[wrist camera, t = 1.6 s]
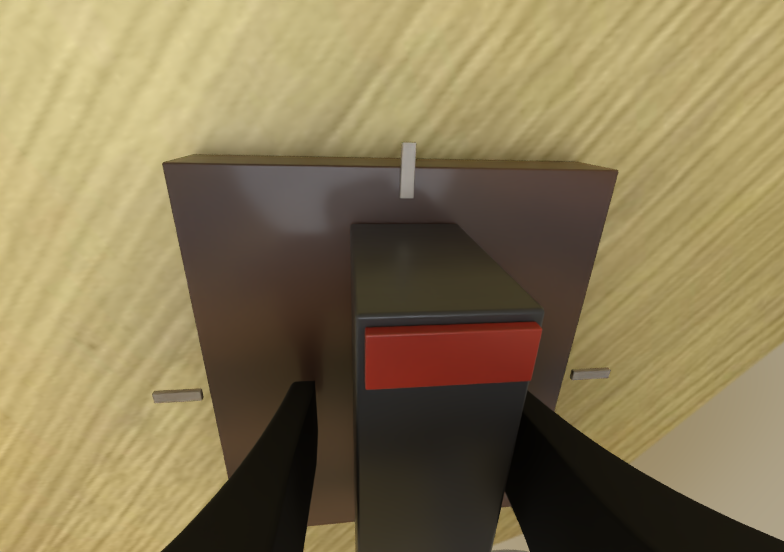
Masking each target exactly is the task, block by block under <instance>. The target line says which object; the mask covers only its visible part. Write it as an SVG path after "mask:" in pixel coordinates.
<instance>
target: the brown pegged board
mask: <svg viewBox="0 0 784 552" xmlns="http://www.w3.org/2000/svg"><path fill="white" fill-rule="evenodd" d="M162 165H163V170H164V175H165V179H166V184H167V189H168V194H169V198H170V203H171V208H172V213H173V217H174V222H175V227H176V232H177V236H178V241H179V246H180V251H181V255H182V260H183V265H184V270H185V274H186V279H187V284H188V289H189V293H190V298H191V303H192V308H193V312H194V317H195V322H196V327H197V331H198V336H199V341H200V346H201V350H202V355H203V360H204V365H205V369H206V374H207V379H208V384H209V388H210V393H211V398H212V403H213V408H214V412H215V417H216V422H217V427H218V431H219V436H220V441H221V446H222V450H223V455H224V460H225V465H226V469H227V474H228V479H229V478H230V477H231V476H232V474H233V473H234V472H235V471H236V469H237V468H238V467H239V466H240V464H241V463H242V462H243V460H244V459H245V457H246V456H247V455H248V453H249V452H250V451H251V449H252V448H253V446H254V445H255V444H256V442H257V441H258V439H259V438H260V437H261V435H262V433H263V432H264V430H265V429H266V427H267V426H268V424H269V423H270V421H271V420H272V418H273V416H274V415H275V413H276V411H277V410H278V408H279V406H280V405H281V403H282V401H283V399H284V397H285V396H286V394H287V392H288V390H289V388H290V386H291V384H292V383H293V382H297V381H315V389H316V404H317V419H318V447H317V465H316V472H315V478H314V485H313V491H312V498H311V504H310V510H309V517H308V523H307V526H315V525H325V524H336V523H346V522H355V505H354V442H353V376H352V310H351V244H350V226H351V225H352V224H458V225H459V226H460V227H461V228H462V229H463V230H464V231H465V232H466V233H467V234H468V235H469V236H470V237H471V238H472V239H473V240H474V241H475V242H476V243H477V244H478V245H479V246H480V247H481V248H482V249H483V250H484V251H485V252H486V253H488V254H489V255H490V256H491V257H492V258H493V259H494V260H495V261H496V262H497V263H498V264H499V265H500V266H501V267H502V268H503V269H504V270H505V271H506V272H507V273H508V274H509V275H510V276H511V277H512V278H513V279H514V280H515V281H516V282H517V283H518V284H519V285H520V286H521V287H522V288H523V289H524V290H525V291H526V292H527V293H528V294H529V295H530V296H532V297H533V298H534V299H535V300H536V301H537V302H538V303H539V304H540V305H541V306H542V307H543V308H544V318H543V322H542V327H541V328H542V334H541V339H540V343H539V348H538V352H537V357H536V361H535V365H534V370H533V374H532V379H531V381H529V385H528V389H527V390H528V391H529V392H530V393H532V394H533V395H534V396H535V397H536V398H538V399H539V400H540V401H541V402H543V403H544V404H545V405H546V406H547V407H549V408H550V409H551V410H552V411H554V410H555V407H556V403H557V399H558V395H559V392H560V388H561V384H562V381H563V377H564V373H565V369H566V366H567V362H568V358H569V354H570V351H571V347H572V343H573V339H574V336H575V332H576V328H577V325H578V321H579V317H580V313H581V310H582V306H583V302H584V298H585V295H586V291H587V287H588V284H589V280H590V276H591V272H592V269H593V265H594V261H595V257H596V254H597V250H598V246H599V242H600V239H601V235H602V231H603V228H604V224H605V220H606V216H607V213H608V209H609V205H610V201H611V198H612V194H613V190H614V187H615V183H616V179H617V175H618V170H615V169H611V168H606V167H601V166H596V165H591V164H586V163H581V162H560V161H509V160H458V159H416V142H402V144H401V158H357V157H306V156H255V155H204V154H193V155H189V156H185V157H181V158H178V159H174V160H170V161H166V162H163V164H162ZM610 371H611V370H610V369H609V368H588V369H572V370H571V374H570V378H571V380H581V379H599V378H608V377H609V374H610ZM152 396H153V399H154V403H166V402H184V401H202V399H203V392H202V389H182V390H163V391H154V392H153V394H152ZM501 507H511V504H510V502H509V500H508V498H507V495H506V493H505V492H504V497H503V501H502V506H501Z"/></svg>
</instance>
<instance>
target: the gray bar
mask: <svg viewBox="0 0 784 552" xmlns="http://www.w3.org/2000/svg"><path fill="white" fill-rule="evenodd" d="M350 244H351V310H352V376H353V442H354V505H355V547H356V552H491V550H492V546H493V541H494V537H495V533H496V528H497V524H498V519H499V515H500V510H501V506H502V501H503V497H504V492H505V488H506V483H507V479H508V474H509V470H510V465H511V461H512V456H513V452H514V448H515V443H516V439H517V434H518V430H519V425H520V421H521V416H522V412H523V407H524V403H525V398H526V394H527V389H528V385H529V381H531V379H532V374H533V370H534V365H535V361H536V357H537V352H538V348H539V343H540V339H541V334H542V328H541V327H542V322H543V318H544V308H543V307H542V306H541V305H540V304H539V303H538V302H537V301H536V300H535V299H534V298H533V297H532V296H530V295H529V294H528V293H527V292H526V291H525V290H524V289H523V288H522V287H521V286H520V285H519V284H518V283H517V282H516V281H515V280H514V279H513V278H512V277H511V276H510V275H509V274H508V273H507V272H506V271H505V270H504V269H503V268H502V267H501V266H500V265H499V264H498V263H497V262H496V261H495V260H494V259H493V258H492V257H491V256H490V255H489V254H488V253H486V252H485V251H484V250H483V249H482V248H481V247H480V246H479V245H478V244H477V243H476V242H475V241H474V240H473V239H472V238H471V237H470V236H469V235H468V234H467V233H466V232H465V231H464V230H463V229H462V228H461V227H460V226H459V225H458V224H352V225H351V226H350Z"/></svg>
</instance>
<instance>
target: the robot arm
mask: <svg viewBox="0 0 784 552" xmlns="http://www.w3.org/2000/svg"><path fill="white" fill-rule="evenodd" d="M317 447H318V419H317V404H316V389H315V381H297V382H293V383H292V384H291V386H290V388H289V390H288V392H287V394H286V396H285V397H284V399H283V401H282V403H281V405H280V406H279V408H278V410H277V411H276V413H275V415H274V416H273V418H272V420H271V421H270V423H269V424H268V426H267V427H266V429H265V430H264V432H263V433H262V435H261V437H260V438H259V439H258V441H257V442H256V444H255V445H254V446H253V448H252V449H251V451H250V452H249V453H248V455H247V456H246V457H245V459H244V460H243V462H242V463H241V464H240V466H239V467H238V468H237V469H236V471H235V472H234V473H233V474H232V476H231V477H230V478H229V479H228V481H227V482H226V483H225V484H224V485H223V487H222V488H221V489H220V490H219V491H218V493H217V494H216V495H215V496H214V497H213V498H212V499H211V501H210V502H209V503H208V504H207V505H206V506H205V507H204V508H203V509H202V510H201V511H200V513H199V514H198V515H197V516H196V517H195V518H194V519H193V520H192V521H191V522H190V523H189V524H188V525H187V527H186V528H185V529H184V530H183V531H182V532H181V533H180V534H179V535H178V536H177V537H176V538H175V539H174V540H173V541H172V542H171V543H170V544H169V545H167V546H166V547H165V548H164V549H163V550H162V551H161V552H303V549H304V542H305V536H306V529H307V523H308V517H309V510H310V504H311V498H312V491H313V485H314V478H315V472H316V465H317ZM505 493H506V495H507V498H508V500H509V502H510V504H511V507H512V509H513V511H514V513H515V516H516V518H517V520H518V522H519V525H520V527H521V529H522V532H523V534H524V537H525V539H526V542H527V545H528V548H529V551H530V552H784V541H782V540H780V539H777V538H775V537H773V536H770V535H768V534H766V533H763V532H761V531H759V530H756V529H754V528H752V527H749V526H747V525H745V524H742V523H740V522H738V521H736V520H734V519H731V518H729V517H727V516H725V515H723V514H721V513H719V512H717V511H715V510H712V509H710V508H708V507H706V506H704V505H702V504H700V503H698V502H696V501H694V500H692V499H690V498H688V497H686V496H685V495H683V494H681V493H678V492H676V491H675V490H673V489H671V488H669V487H668V486H666V485H664V484H662V483H660V482H659V481H657V480H655V479H653V478H652V477H650V476H648V475H646V474H644V473H643V472H641V471H639V470H638V469H636V468H634V467H633V466H631V465H629V464H628V463H626V462H625V461H623V460H621V459H620V458H618V457H617V456H615V455H614V454H612V453H610V452H609V451H607V450H606V449H604V448H603V447H601V446H600V445H598V444H597V443H595V442H594V441H593V440H591V439H590V438H588V437H587V436H586V435H584V434H583V433H581V432H580V431H579V430H577V429H576V428H575V427H573V426H572V425H571V424H569V423H568V422H567V421H565V420H564V419H563V418H561V417H560V416H559V415H558V414H556V413H555V412H554V411H552V410H551V409H550V408H549V407H547V406H546V405H545V404H544V403H543V402H541V401H540V400H539V399H538V398H536V397H535V396H534V395H533V394H532V393H530V392H529V391H528V390H527V394H526V398H525V403H524V407H523V412H522V416H521V421H520V425H519V430H518V434H517V439H516V443H515V448H514V452H513V456H512V461H511V465H510V470H509V474H508V479H507V483H506V488H505Z"/></svg>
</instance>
